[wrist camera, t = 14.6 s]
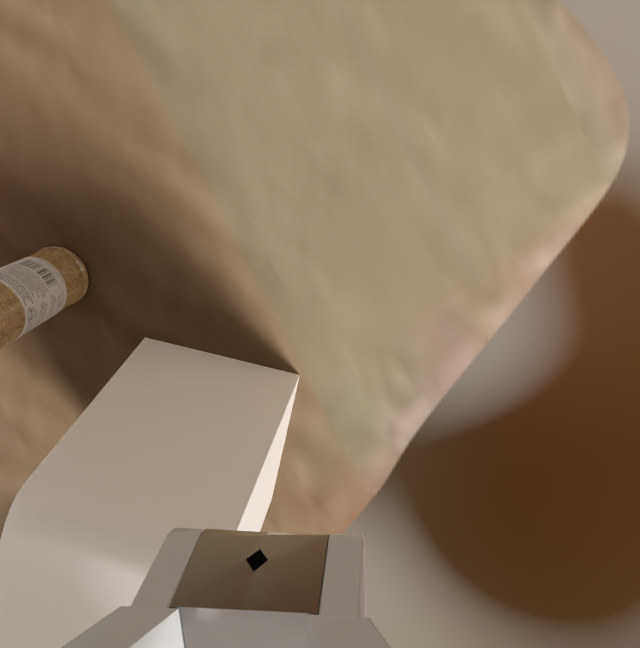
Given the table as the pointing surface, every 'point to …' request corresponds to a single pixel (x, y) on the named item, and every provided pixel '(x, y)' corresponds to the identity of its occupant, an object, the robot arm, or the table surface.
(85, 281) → the sprinkles bottle
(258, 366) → the milk
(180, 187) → the table surface
